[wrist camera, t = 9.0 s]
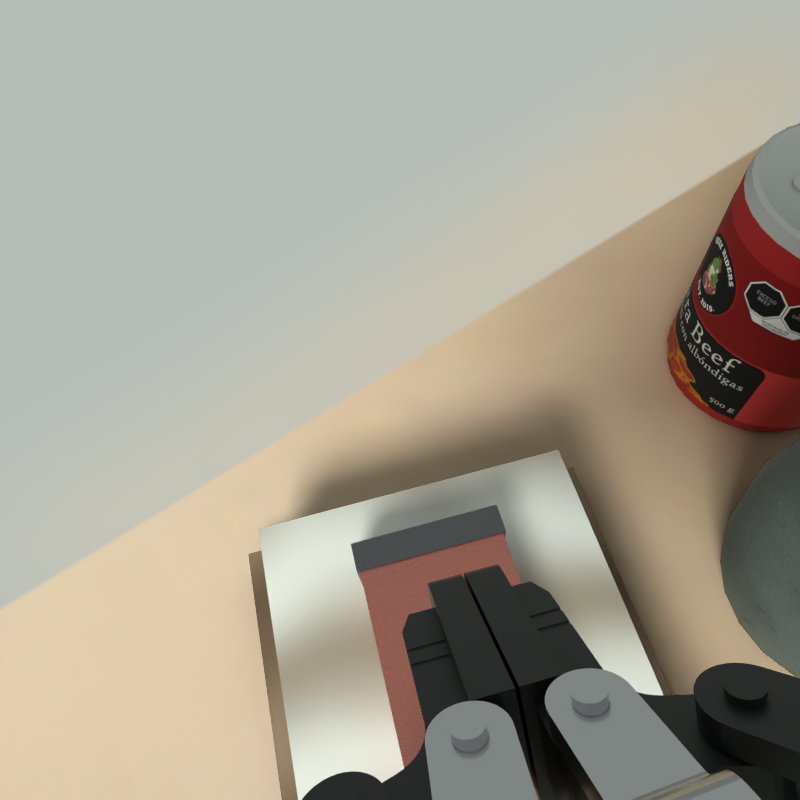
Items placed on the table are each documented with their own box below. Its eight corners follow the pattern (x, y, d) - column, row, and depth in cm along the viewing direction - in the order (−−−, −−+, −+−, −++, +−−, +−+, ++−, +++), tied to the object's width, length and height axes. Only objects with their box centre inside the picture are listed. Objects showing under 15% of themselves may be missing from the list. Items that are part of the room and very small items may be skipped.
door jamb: (850, 1148, 18) (1006, 1291, 13) (366, 1321, 17) (330, 1548, 12) (567, 481, 29) (592, 417, 24) (257, 564, 28) (214, 516, 23)
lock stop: (679, 1015, 15) (496, 504, 22) (470, 1085, 15) (350, 543, 22) (659, 994, 17) (493, 522, 24) (469, 1058, 17) (357, 559, 24)
